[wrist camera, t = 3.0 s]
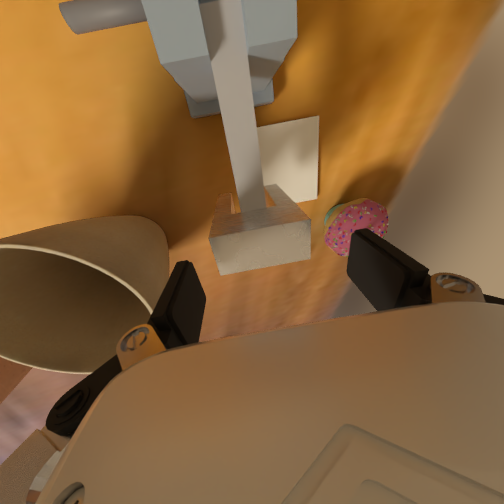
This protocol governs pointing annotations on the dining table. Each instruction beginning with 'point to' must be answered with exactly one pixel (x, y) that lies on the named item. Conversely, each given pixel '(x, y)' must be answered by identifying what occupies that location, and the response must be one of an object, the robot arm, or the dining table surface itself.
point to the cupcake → (353, 223)
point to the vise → (211, 62)
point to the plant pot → (78, 290)
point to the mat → (291, 157)
